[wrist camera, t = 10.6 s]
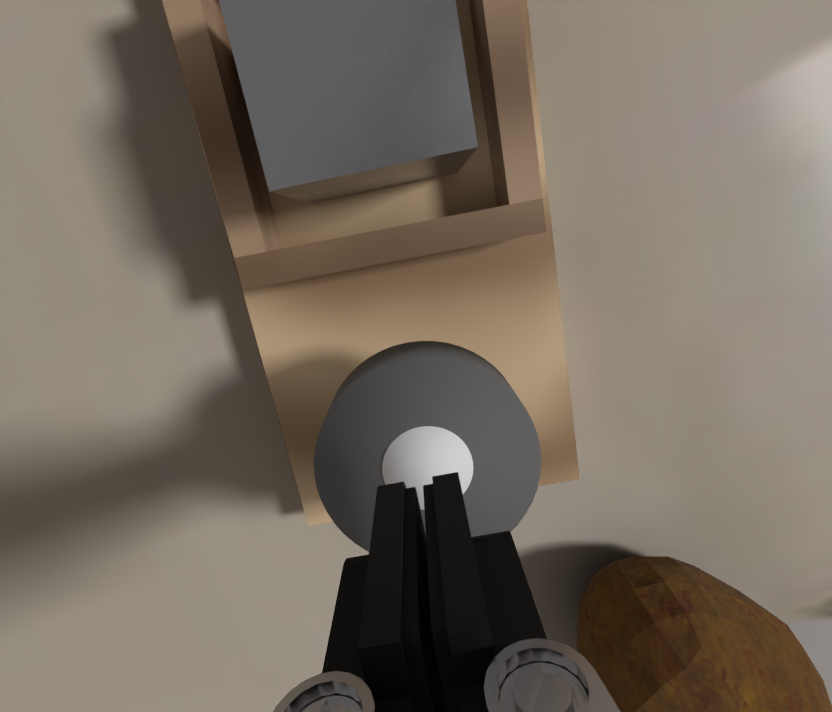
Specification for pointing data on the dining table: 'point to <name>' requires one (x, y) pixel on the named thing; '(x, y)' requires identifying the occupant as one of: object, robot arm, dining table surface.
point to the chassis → (394, 244)
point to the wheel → (427, 437)
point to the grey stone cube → (352, 92)
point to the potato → (690, 644)
